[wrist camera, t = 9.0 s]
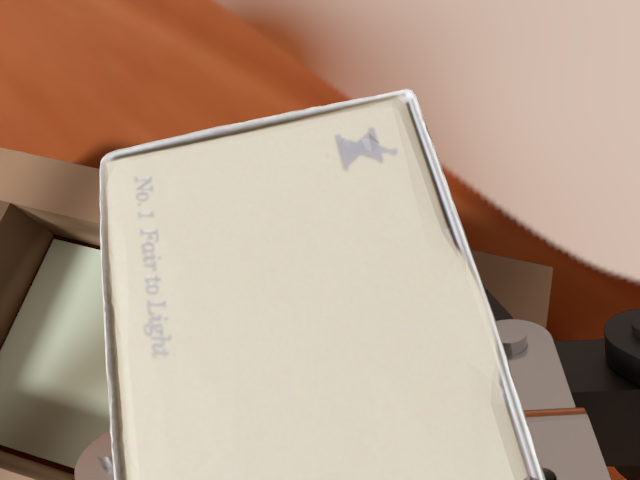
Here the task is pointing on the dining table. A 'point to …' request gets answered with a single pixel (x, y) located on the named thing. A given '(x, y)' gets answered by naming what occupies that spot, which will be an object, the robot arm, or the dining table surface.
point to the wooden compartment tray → (100, 312)
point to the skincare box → (301, 307)
